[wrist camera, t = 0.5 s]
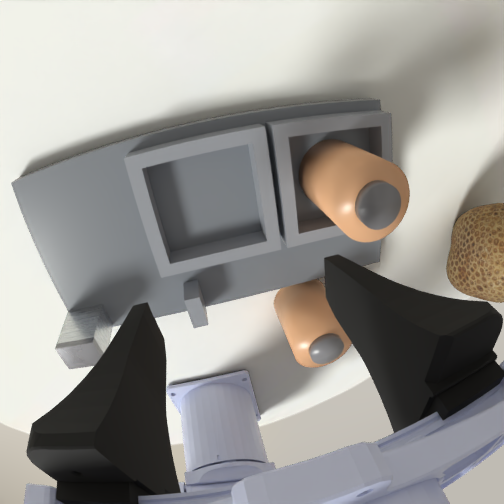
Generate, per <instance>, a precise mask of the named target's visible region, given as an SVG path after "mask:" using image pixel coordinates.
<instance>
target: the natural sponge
mask: <svg viewBox="0 0 504 504" xmlns="http://www.w3.org/2000/svg"><path fill="white" fill-rule="evenodd" d="M446 269H447V275H448V279H449V280H450V282H451V284H452V285H453V286H454V287H455V288H456V289H457V290H459V291H460V292H462V293H464V294H466V295H469V296H473V297H476V298H479V299H483V300H487V301H492V302H500V303H501V302H504V203H496V204H490V205H483V206H480V207H476V208H473V209H471V210H469V211H467V212H466V213H464V214H463V215H461V216H460V217H459V218H458V220H457V221H456V223H455V225H454V228H453V231H452V238H451V248H450V252H449V255H448V260H447V267H446Z"/></svg>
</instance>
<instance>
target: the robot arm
mask: <svg viewBox="0 0 504 504" xmlns="http://www.w3.org/2000/svg"><path fill="white" fill-rule="evenodd" d="M324 267H325V290H326V299H327V301H328V303H329V306H330V308H331V310H332V312H333V314H334V316H335V318H336V319H337V321H338V322H339V324H340V325H341V327H342V328H343V330H344V331H345V333H346V334H347V336H348V337H349V339H350V340H351V342H352V343H353V345H354V346H355V348H356V350H357V351H358V353H359V354H360V356H361V357H362V359H363V361H364V363H365V365H366V367H367V369H368V371H369V373H370V375H371V377H372V379H373V381H374V383H375V386H376V388H377V390H378V392H379V395H380V397H381V399H382V402H383V404H384V407H385V409H386V411H387V414H388V417H389V419H390V422H391V425H392V428H393V431H394V433H393V434H391V435H389V436H387V437H385V438H382V439H380V440H378V441H375V442H373V443H371V442H361V443H358V444H354V445H351V446H347V447H344V448H341V449H339V450H336V451H333V452H330V453H327V454H324V455H322V456H318V457H315V458H312V459H309V460H306V461H302V462H299V463H296V464H292V465H289V466H285V467H282V468H278V469H276V468H275V465H274V462H271V463H269V462H268V459H267V455H266V451H265V448H264V444H263V440H262V437H261V433H260V430H259V426H258V422H257V421H259V420H260V419H261V417H260V413H259V409H258V406H257V402H256V399H255V395H254V391H253V387H252V384H251V380H250V376H249V373H248V371H246V370H242V371H238V372H234V373H230V374H225V375H221V376H216V377H212V378H207V379H202V380H197V381H192V382H187V383H182V384H176V385H171V386H168V387H167V388H166V351H165V342H164V338H163V335H162V333H161V331H160V329H159V327H158V325H157V322H156V320H155V318H154V316H153V314H152V311H151V309H150V307H149V305H148V302H146V303H142V304H138V305H133V307H132V308H131V310H130V312H129V313H128V315H127V317H126V318H125V320H124V322H123V324H122V325H121V327H120V329H119V330H118V332H117V333H116V335H115V337H114V338H113V340H112V342H111V343H110V345H109V346H108V347H107V349H106V350H105V352H104V353H103V355H102V356H101V358H100V359H99V361H98V362H97V363H96V365H95V366H94V367H93V368H92V370H91V371H90V372H89V373H88V375H87V376H86V377H85V378H84V379H83V380H82V381H81V382H80V383H79V384H78V385H77V387H76V388H75V389H74V390H73V391H72V392H71V393H70V394H69V395H68V396H67V397H66V398H64V399H63V400H62V401H61V402H60V403H59V404H58V405H56V406H55V407H54V408H53V409H52V410H50V411H49V412H48V413H46V414H45V415H44V416H42V417H41V418H39V419H38V420H37V421H35V422H34V423H33V424H32V428H31V432H30V437H29V442H28V447H27V456H28V458H29V459H30V460H31V462H32V463H33V464H34V465H36V466H37V467H38V468H39V469H41V470H42V471H44V472H45V473H46V474H48V475H49V476H51V477H52V478H53V479H55V480H57V488H54V487H52V486H47V485H37V484H30V483H28V484H26V490H25V499H24V504H450V503H449V501H448V499H447V497H446V496H445V494H444V492H443V490H442V489H444V488H445V487H447V486H448V485H450V484H451V483H453V482H454V481H456V480H457V479H459V478H460V477H462V476H463V475H465V474H466V473H467V472H469V471H470V470H472V469H473V468H474V467H476V466H477V465H478V464H480V463H481V462H482V461H484V460H485V459H486V458H488V457H489V456H490V455H491V454H493V453H494V452H495V451H496V450H497V449H499V448H500V447H501V446H502V445H504V361H503V362H502V363H501V364H500V365H498V364H497V363H496V361H495V360H496V358H497V355H496V354H495V352H494V351H493V348H494V345H495V343H496V341H497V338H498V336H499V334H500V332H501V329H502V323H503V318H502V315H501V314H500V313H499V312H498V311H497V310H496V309H495V308H493V307H492V306H491V305H490V304H489V303H488V302H483V301H468V300H460V299H453V298H447V297H442V296H438V295H434V294H429V293H426V292H422V291H419V290H416V289H413V288H410V287H407V286H404V285H401V284H399V283H396V282H394V281H392V280H389V279H387V278H385V277H383V276H380V275H378V274H376V273H374V272H372V271H370V270H368V269H366V268H364V267H362V266H360V265H358V264H357V263H355V262H353V261H351V260H349V259H347V258H345V257H343V256H341V255H339V254H337V255H333V256H329V257H325V258H324ZM166 392H167V394H168V395H169V397H170V399H171V400H172V402H173V403H174V405H175V407H176V408H177V410H178V411H179V413H180V415H181V421H182V433H183V443H184V453H185V462H186V471H187V472H185V481H186V485H185V483H184V482H178V479H177V475H176V471H175V466H174V462H173V457H172V451H171V445H170V439H169V433H168V425H167V417H166Z"/></svg>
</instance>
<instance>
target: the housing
mask: <svg viewBox="0 0 504 504" xmlns="http://www.w3.org/2000/svg"><path fill="white" fill-rule="evenodd" d="M328 139H337V140H341V141H344V142H346V143H348V144H351V145H353V146H356V147H358V148H360V149H363V150H365V151H367V152H369V153H372V154H374V155H376V156H378V157H381V158H383V159H385V160H387V161H389V162H391V163H392V123H391V113H389V112H384V111H381V108H380V100H378V99H372V98H366V99H349V100H335V101H324V102H313V103H304V104H295V105H287V106H280V107H272V108H266V109H259V110H253V111H247V112H241V113H235V114H230V115H224V116H219V117H214V118H209V119H204V120H200V121H195V122H190V123H186V124H182V125H177V126H173V127H169V128H165V129H161V130H157V131H154V132H150V133H146V134H142V135H139V136H135V137H132V138H128V139H125V140H121V141H118V142H115V143H112V144H108V145H105V146H102V147H99V148H96V149H93V150H90V151H87V152H84V153H81V154H78V155H75V156H73V157H70V158H67V159H64V160H62V161H59V162H56V163H54V164H51V165H48V166H46V167H43V168H41V169H38V170H36V171H33V172H31V173H29V174H26V175H24V176H22V177H19V178H18V179H16V180H15V181H13V182H12V183H11V184H12V187H13V190H14V192H15V195H16V198H17V201H18V204H19V206H20V209H21V212H22V214H23V217H24V219H25V222H26V224H27V227H28V229H29V232H30V234H31V236H32V239H33V241H34V243H35V246H36V248H37V250H38V252H39V254H40V257H41V259H42V261H43V263H44V265H45V267H46V269H47V271H48V273H49V275H50V278H51V280H52V282H53V283H54V285H55V287H56V289H57V291H58V293H59V295H60V297H61V299H62V301H63V303H64V304H65V306H66V308H67V310H68V311H72V310H76V309H81V308H86V307H90V306H95V305H99V304H103V306H104V308H105V310H106V312H107V314H108V316H109V318H110V320H111V322H112V324H113V326H118V325H122V324H123V322H124V320H125V318H126V317H127V315H128V313H129V312H130V310H131V308H132V307H133V305H138V304H142V303H146V302H148V305H149V307H150V309H151V311H152V314H153V316H154V318H157V317H161V316H166V315H171V314H175V313H180V312H184V311H188V313H189V316H190V319H191V321H192V324H193V327H194V328H197V327H201V326H206V325H208V319H207V312H206V306H210V305H215V304H219V303H223V302H227V301H231V300H236V299H240V298H244V297H248V296H252V295H256V294H260V293H264V292H268V291H272V290H276V289H280V288H284V287H288V286H292V285H295V284H299V283H303V282H307V281H311V280H314V279H318V278H322V277H325V267H324V258H325V257H329V256H333V255H337V254H339V255H341V256H343V257H345V258H347V259H349V260H351V261H353V262H355V263H357V264H358V265H360V266H365V265H369V264H372V263H376V262H379V261H380V249H381V239H380V240H377V241H373V242H359V241H355V240H353V239H351V238H350V237H348V236H347V235H346V234H345V233H344V232H343V231H342V230H341V229H340V228H339V227H338V226H337V225H336V224H335V223H334V222H333V221H332V220H331V219H330V218H329V217H328V216H327V215H326V214H325V213H324V212H323V211H322V210H321V209H320V208H319V207H317V206H316V205H315V204H314V203H313V202H312V201H311V200H310V199H309V198H308V197H307V196H306V195H305V193H304V192H303V190H302V188H301V186H300V183H299V167H300V163H301V161H302V159H303V157H304V155H305V154H306V152H307V151H308V150H309V149H310V148H311V147H312V146H314V145H315V144H317V143H318V142H321V141H323V140H328Z"/></svg>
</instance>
